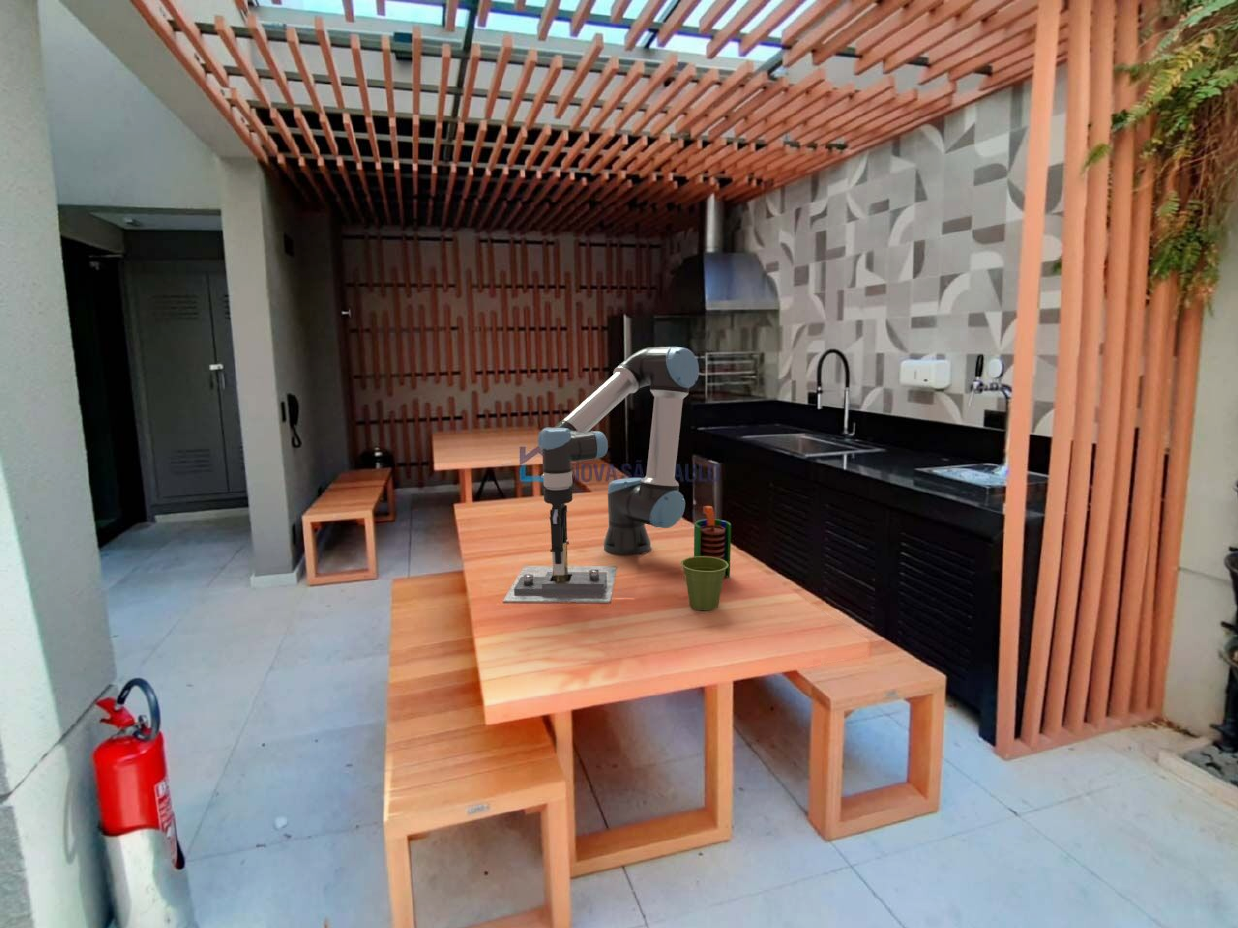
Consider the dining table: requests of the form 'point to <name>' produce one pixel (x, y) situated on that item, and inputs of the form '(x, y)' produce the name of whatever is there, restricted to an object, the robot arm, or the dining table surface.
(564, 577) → the brass pin
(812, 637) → the dining table surface
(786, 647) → the dining table surface
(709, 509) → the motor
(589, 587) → the square hole fixture plate
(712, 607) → the plant pot
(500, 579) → the dining table surface
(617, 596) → the dining table surface
